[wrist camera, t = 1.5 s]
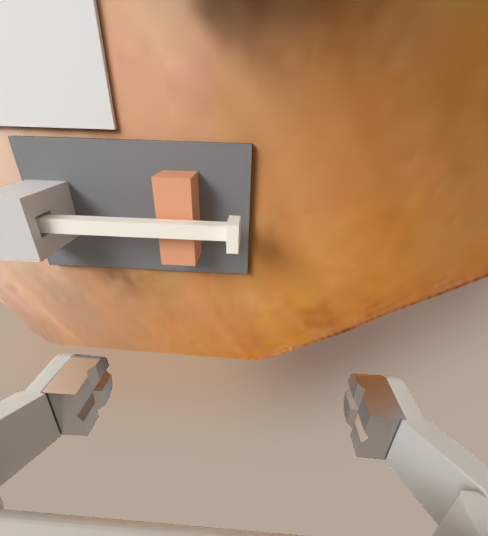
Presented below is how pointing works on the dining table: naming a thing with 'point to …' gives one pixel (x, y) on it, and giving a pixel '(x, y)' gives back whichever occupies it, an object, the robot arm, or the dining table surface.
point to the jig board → (119, 198)
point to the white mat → (53, 65)
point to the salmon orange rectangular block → (177, 213)
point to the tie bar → (144, 228)
